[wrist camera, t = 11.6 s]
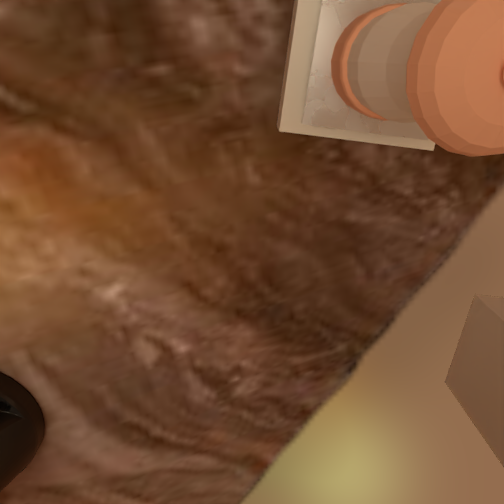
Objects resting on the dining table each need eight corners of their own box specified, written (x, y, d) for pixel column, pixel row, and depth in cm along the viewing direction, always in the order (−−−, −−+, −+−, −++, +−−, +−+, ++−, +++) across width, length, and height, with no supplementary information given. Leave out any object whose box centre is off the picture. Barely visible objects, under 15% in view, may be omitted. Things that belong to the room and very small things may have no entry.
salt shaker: (448, 32, 33) (687, 4, 15) (399, 129, 36) (556, 201, 18) (357, -10, 32) (504, -94, 14) (314, 93, 34) (392, 132, 17)
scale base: (420, 144, 41) (486, 176, 30) (276, 126, 40) (290, 152, 29) (482, -91, 34) (597, -162, 23) (311, -120, 33) (346, -207, 22)
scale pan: (424, 138, 37) (428, 140, 36) (301, 122, 36) (302, 124, 35) (462, -3, 33) (467, -4, 32) (325, -24, 32) (326, -26, 31)
